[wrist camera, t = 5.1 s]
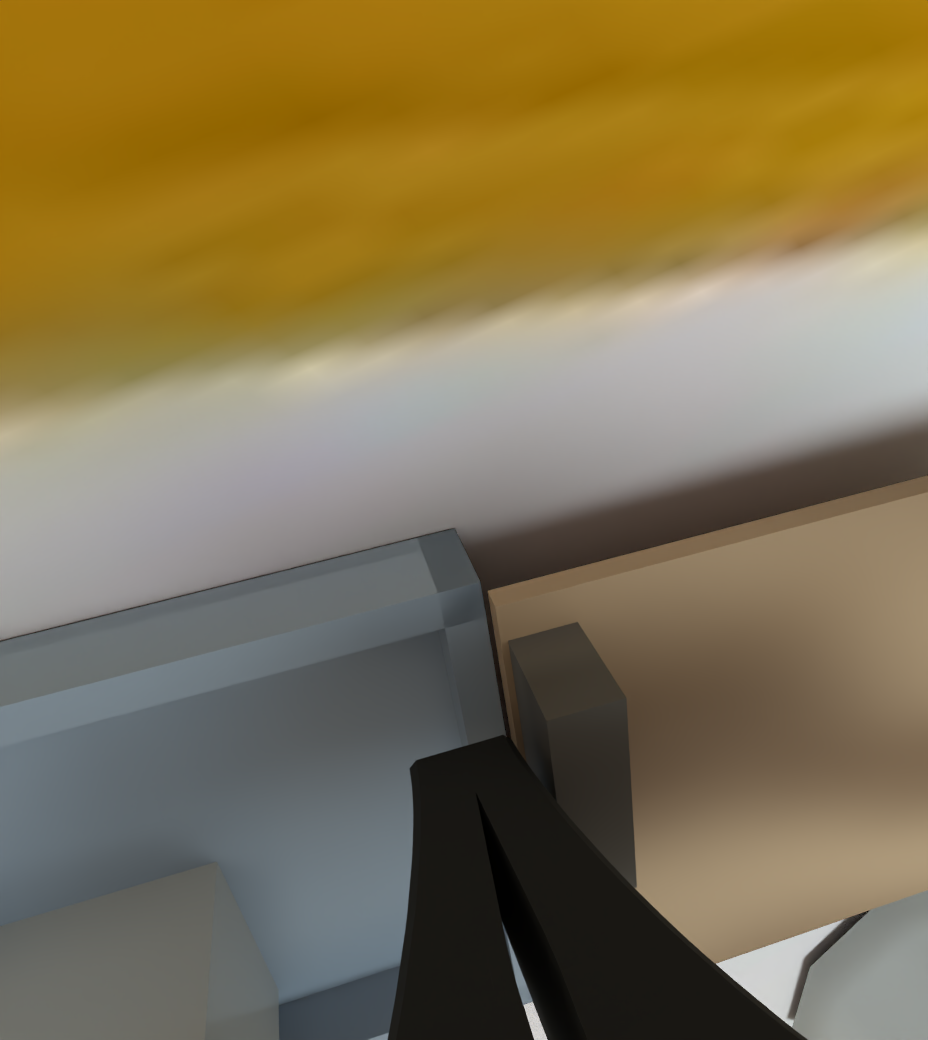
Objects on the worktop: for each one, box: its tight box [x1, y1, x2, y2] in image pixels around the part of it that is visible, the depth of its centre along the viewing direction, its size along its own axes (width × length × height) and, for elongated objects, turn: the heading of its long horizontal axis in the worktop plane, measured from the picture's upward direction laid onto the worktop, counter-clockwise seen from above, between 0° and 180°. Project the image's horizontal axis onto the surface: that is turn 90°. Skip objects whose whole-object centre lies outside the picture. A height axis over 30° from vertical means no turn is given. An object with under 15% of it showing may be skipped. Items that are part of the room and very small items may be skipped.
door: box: [488, 475, 928, 964], centre depth 12 cm, size 10×9×2 cm
